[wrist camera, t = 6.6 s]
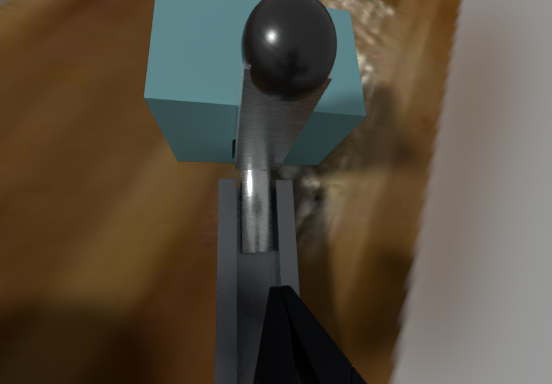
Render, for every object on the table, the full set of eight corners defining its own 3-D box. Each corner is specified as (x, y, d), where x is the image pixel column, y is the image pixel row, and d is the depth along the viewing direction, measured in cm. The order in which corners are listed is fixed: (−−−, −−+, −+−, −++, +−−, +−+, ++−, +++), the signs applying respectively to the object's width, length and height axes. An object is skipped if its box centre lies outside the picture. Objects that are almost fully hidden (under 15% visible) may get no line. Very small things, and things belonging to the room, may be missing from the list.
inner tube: (276, 251, 17) (395, 242, 5) (232, 253, 17) (247, 248, 4) (270, 109, 20) (335, -109, 8) (233, 106, 20) (242, -136, 7)
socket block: (317, 165, 21) (366, 116, 14) (177, 160, 19) (144, 97, 11) (310, 90, 23) (349, 11, 16) (183, 77, 21) (157, -23, 13)
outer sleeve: (292, 383, 16) (307, 412, 13) (216, 396, 15) (213, 430, 12) (282, 191, 20) (292, 180, 17) (220, 191, 19) (218, 178, 16)
